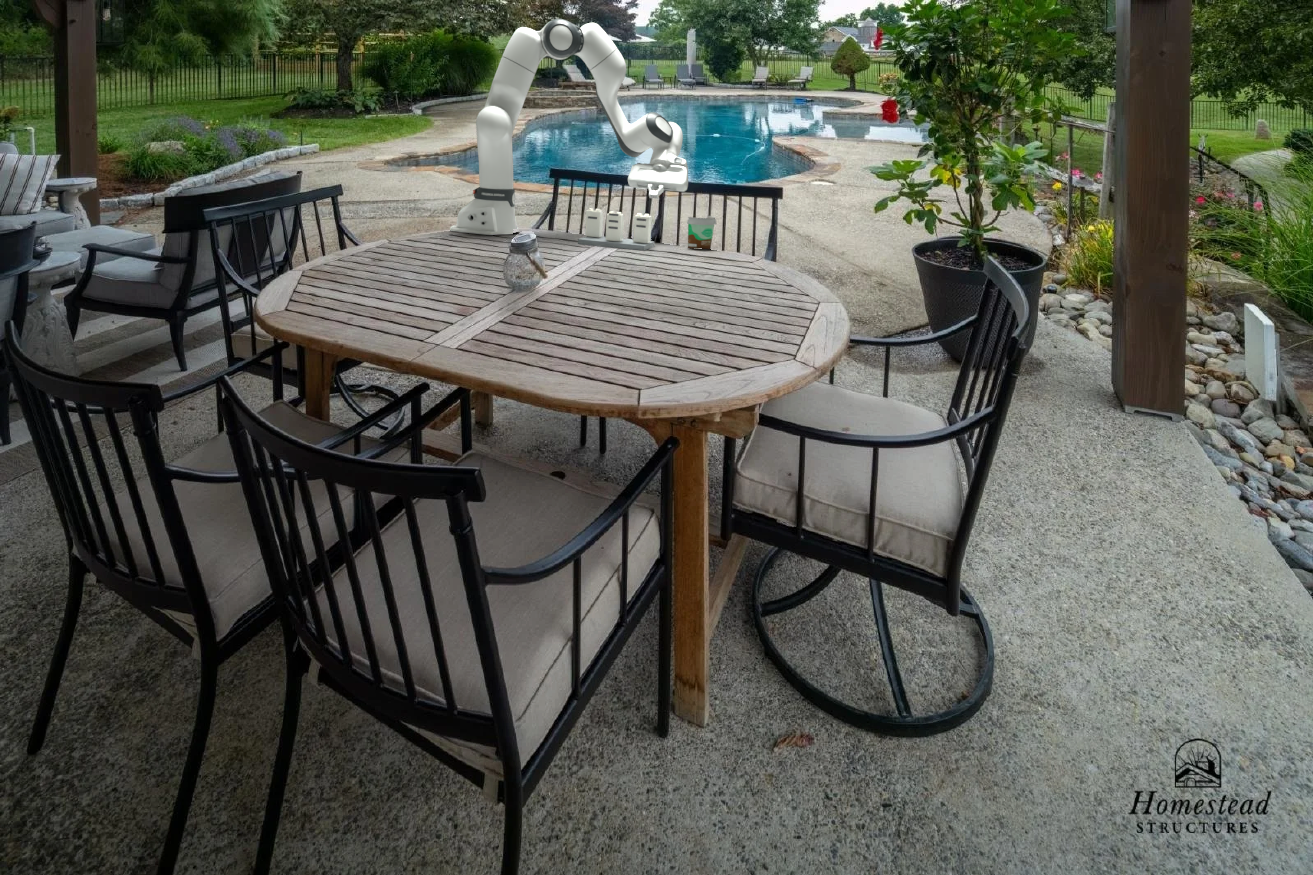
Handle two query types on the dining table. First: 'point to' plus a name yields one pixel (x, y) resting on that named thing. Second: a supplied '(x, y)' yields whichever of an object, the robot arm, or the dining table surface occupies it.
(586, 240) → the tile board
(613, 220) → the tile three
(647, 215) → the tile two
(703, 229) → the food container
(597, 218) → the tile one
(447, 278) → the dining table surface
